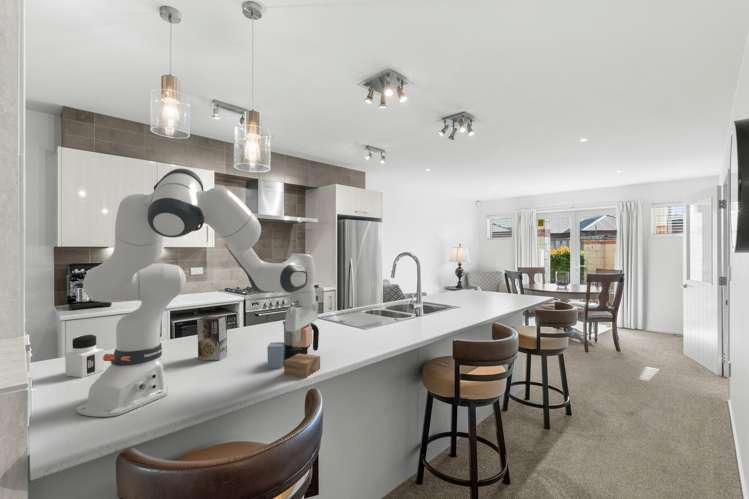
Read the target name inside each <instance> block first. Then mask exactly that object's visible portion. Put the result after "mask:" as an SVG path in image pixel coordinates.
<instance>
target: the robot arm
mask: <svg viewBox="0 0 749 499" xmlns="http://www.w3.org/2000/svg"><path fill="white" fill-rule="evenodd" d="M115 217H116V218H115V224H114V225H115V226H114V232H115V233H114V246H113V247H114V248H113V252H112V253H111V255H110V257H108V259H106V260H105V261H103V262H102V263H100V264H99V265H97V266H94V267H92V268H90V269H89V270H88V271H87V273H86V274H85V276H84V277H83V281H82V289H83V292H84V294H85V295H86V297H88V299H89V300H90V301H92V302H99V303H100V302H101V303H124V302H125V303H126V302H135V301H139V302H141V304H140V305H139V307H138V308H136V309H135V310H133V311H131V312H129V313H127V314H126V315H124V316H122V317H121V318H119V320H118V321H117V323H116V326H115V329H116V330H115V332H116V333H115V336H116V340H115V341H116V343H115V345H116V346H115V347H116V348H115V349H114V351H113V353H105V354H104V356H103V357H104V358H103V360H104V362H110V365H109V366H108V367H107V368H106V370H105V369H104V372H103V373H102V374H100V376H99V377H98V378H97V379H96V380H94V382H92V384H91V385H90V387H89V388H88V389H89V390H88V395H87V401H86V402H84V403H82V404H80V405H78V406H77V408H76V413H77V414H79V415H83V416H86V417H87V416H88V417H99V418H100V417H103V418H105V417H116V416H120V415H122V414H125V413H128V412H129V411H131V410H135V409H138V408H139V407H142V406H144V405H146V404H149V403H151V402H154V401H156V400H158V399H161V398H164V397H165V396H167V395H168V394H169V390H168V389H167V388H168V387H167V385H166V380H165V373H164V367H163V364H162V358H161V356H162V353H163V347H162V342H161V324H162V317H163V315H164V313H165V311H166V308H167V307H168V306H169V304H170V303H171V302H172V301H173V300H174V299H175V298H176V297H178V296H179V295H180V294H181V293H182V292H183V291H184V290H185V287H186V284H187V277H186V273H185V271H184V270H183V269H182V268H181V266H180V265H178V264H172V263H163V262H160V263H159V262H158V263H156V262H157V261H158V260H159V258H160V257H161V255H162V251H163V241H164V240H163V239H164V237H166V238H181V237H184V236H186V235H189V234H190V233H192V232H197V231H199V230H201V229H202V228H203V225H204V224H206V225H207V226H208V227H210V228H211V229H212V230H213V231H214V232H215V233H216V234H217V235H218V236H219V237H220V238H221V239H222V240H223V242H224V243H225V248H226V249H227V251H228V252H229V253H230V255H231V256H232V257H233V259H234V261H236V263H237V264H238V265H239V266H240V268H241V269H242V270H243V272H244V273H245V274H246V276H247V279H248V281H249V283H250V285H251V287H252V289H253V290H255V291H256V292H259V293H278V294H279V293H282V294H288V298H289V299H288V301H289V302H288V303H289V306H288V308H287V309H286V312H285V320H286V321H285V320H284V321H285V329H286V331H289V332H294V334H295V341H296V342H300V341H301V340H302V336H301V333H300V332H301V328H303V327H305V326H311V323H313V322H314V323H315V322H316V321H317V320H318V316H319V301H320V295H319V294H317V293H316V288H315V281H316V280H315V278H316V270H315V269H316V268H315V261H314V260H315V259H314V257H313V256H312V255H311V254H309V253H306V252H293V253H291V255H290V257H289V258H288V259H286V260H285V261H283V262H280V263H277V262H275V263H273V262H268V261H263V260H261V259H260V258H259V256H258V254H256V252H255V251H254V249H253V247H254V246H255V245H256V243H257V242H258V241H259V239H260V236H261V234H262V226H261V223H260V221H259V220H258V218H257V217H256V215H255V214H254V212H252V210H251V209H250V208H249V207H248V206H247V205H246V204H245V203H244V202H243V201H242V200H241V199H240V198H239V197H238V196H237V195H236V194H235V193H234V192H232V191H231V190H230V189H228V187H225V186H224V187H223V186H216V187H212V188H210V189H208V190H205V191H204V185H203V182H202V180H201V177H199V175H198V174H196V173H195V172H194V171H192V170H190V169H187V168H175V169H172V170H170V171H169V172H167V173H166V174H165V175H163V176H162V178H161V179H160V180H159V181H158V182H157V183H156V184H154V186H153V192H151V193H150V194H144V193H143V194H142V193H135V194H134V193H133V194H130V195H127V196H125V197H124V198H123V199H122V200H121V201H120V202H119V206H118V209H117V212H116V216H115Z"/></svg>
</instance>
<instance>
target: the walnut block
mask: <svg viewBox="0 0 749 499" xmlns="http://www.w3.org/2000/svg"><path fill="white" fill-rule="evenodd" d="M319 369H320V370H321V355H314V354H308V353H307V354H299V353H298V354H296V355H294V356H292V357H290V358H288V359H287V360H284V365H283V375H285V376H291V375H294V376H293V377H297V376H302V377H301V378H304V377H307V378H309V377H310V375H311V374H312V375H314V374H315V373H317V372H318V371H320V370H319ZM316 371H317V372H316ZM314 372H315V373H314ZM313 373H314V374H313ZM312 375H311V376H312ZM308 376H309V377H308Z"/></svg>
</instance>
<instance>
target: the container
mask: <svg viewBox="0 0 749 499" xmlns="http://www.w3.org/2000/svg"><path fill="white" fill-rule="evenodd" d="M104 355H105V354H104V349H103V348H97V336H96V335H94V334H82V335H78V336H76V337H74V338H73V339H72V351H69V352H66V353H65V354H64V356H65V357H64V358H65V361H64V363H65V365H64V366H65V370H64V371H65V376H67V377H75V378H85V377H88V376H91V375H93V374H97V373H100V372H103V371H105V368H104V366H105V365H104V364H105V361H104V360H103V358H104V357H103V356H104Z"/></svg>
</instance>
